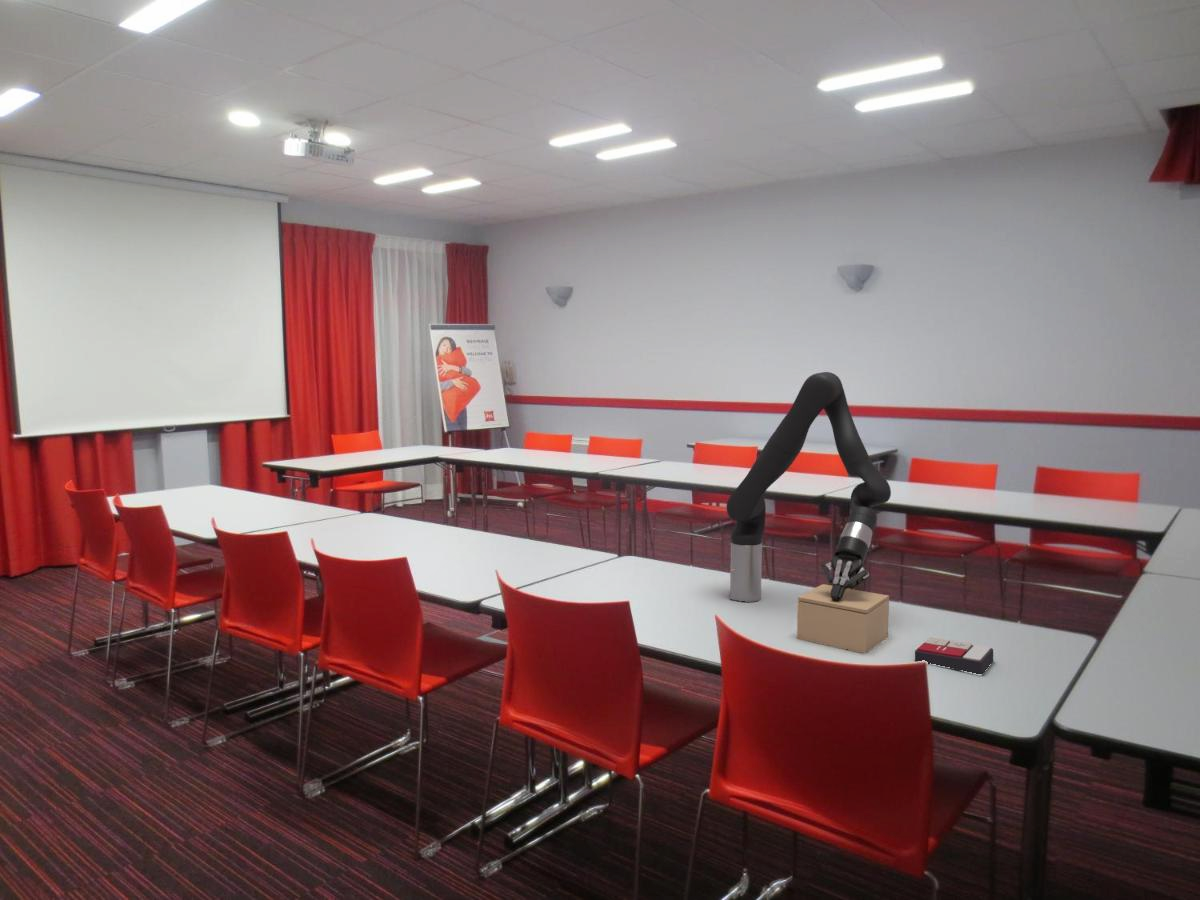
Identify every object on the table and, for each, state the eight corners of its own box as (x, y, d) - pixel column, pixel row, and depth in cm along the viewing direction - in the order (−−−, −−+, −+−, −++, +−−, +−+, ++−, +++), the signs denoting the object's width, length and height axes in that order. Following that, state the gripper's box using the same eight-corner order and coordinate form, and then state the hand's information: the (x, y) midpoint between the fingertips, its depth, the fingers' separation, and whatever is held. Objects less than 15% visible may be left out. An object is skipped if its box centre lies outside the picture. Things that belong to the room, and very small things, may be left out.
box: (822, 622, 221) (823, 587, 220) (887, 636, 210) (889, 598, 209) (797, 638, 209) (797, 601, 208) (865, 653, 198) (866, 614, 196)
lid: (822, 586, 220) (822, 584, 220) (888, 598, 209) (889, 595, 209) (797, 600, 208) (797, 597, 207) (866, 613, 196) (866, 610, 196)
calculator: (928, 635, 201) (993, 645, 191) (928, 652, 201) (993, 662, 192) (914, 647, 192) (981, 658, 183) (914, 665, 193) (981, 677, 183)
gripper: (826, 532, 213) (806, 587, 205) (875, 538, 205) (856, 596, 197) (833, 547, 218) (814, 602, 210) (882, 554, 210) (864, 612, 202)
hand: (835, 599), depth 203 cm, fingers closed
